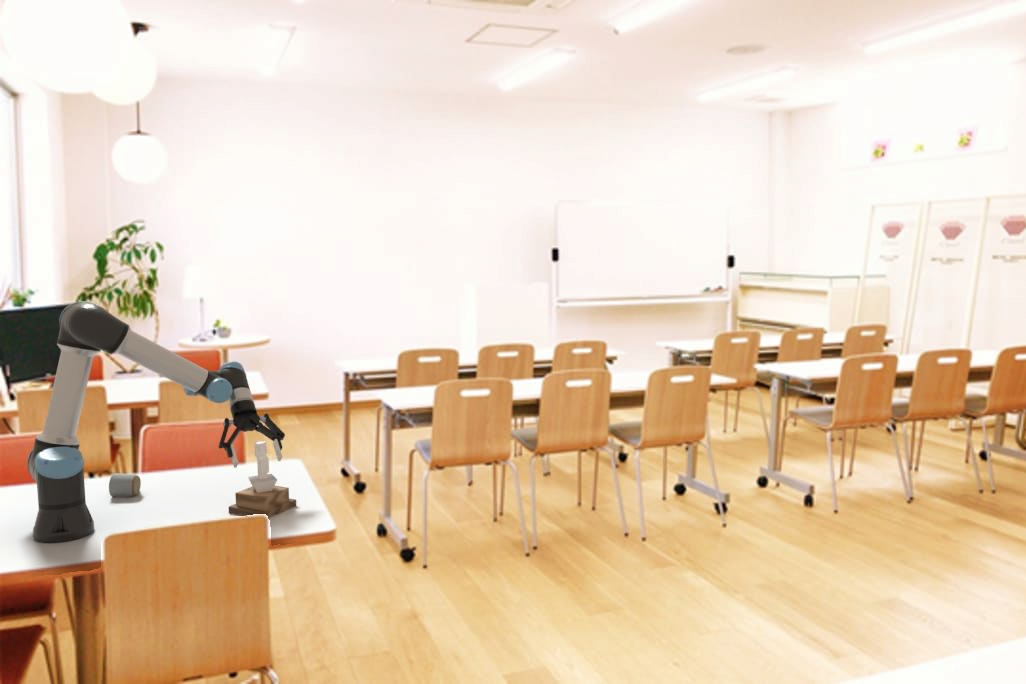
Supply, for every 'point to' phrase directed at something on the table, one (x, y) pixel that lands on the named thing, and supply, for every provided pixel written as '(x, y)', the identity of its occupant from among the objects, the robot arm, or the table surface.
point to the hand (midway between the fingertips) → (258, 462)
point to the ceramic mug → (124, 485)
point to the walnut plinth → (268, 512)
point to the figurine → (262, 470)
